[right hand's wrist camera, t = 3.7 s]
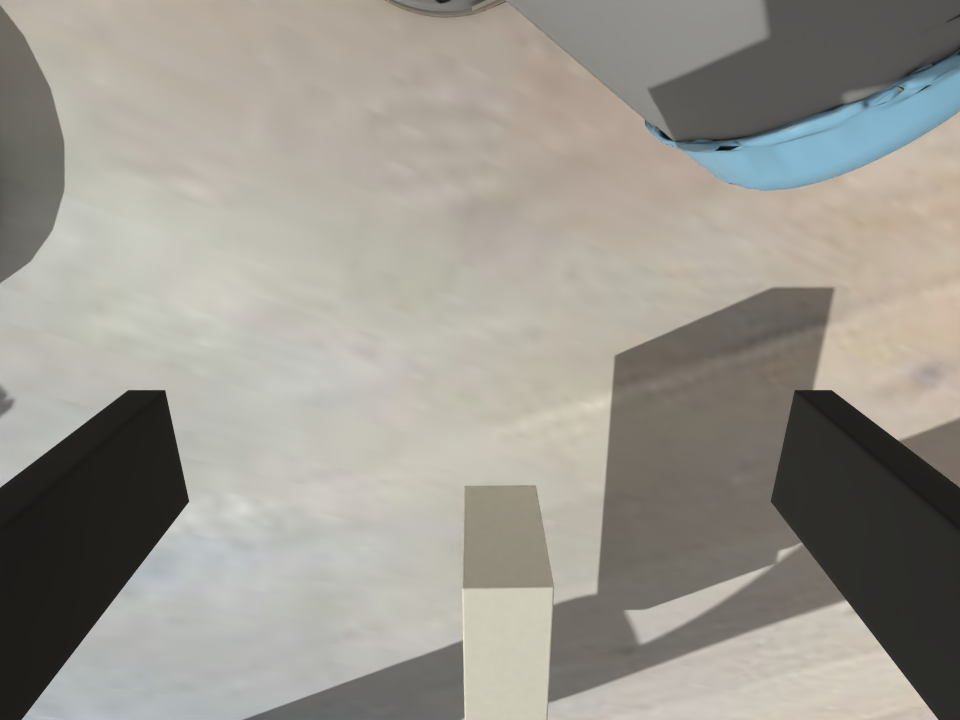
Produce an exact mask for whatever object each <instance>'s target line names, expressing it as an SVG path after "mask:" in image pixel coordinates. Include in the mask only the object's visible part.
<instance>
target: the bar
mask: <svg viewBox="0 0 960 720" xmlns="http://www.w3.org/2000/svg"><path fill="white" fill-rule="evenodd" d="M553 598H554V584H553V579H552V573H551V568H550V562H549V556H548V551H547V545H546V540H545V534H544V528H543V523H542V517H541V512H540V506H539V500H538V495H537V489H536V486H535V485H518V486H465V487H464V521H463V568H462V611H463V661H464V711H465V720H547V715H548V696H549V676H550V656H551V637H552V617H553Z"/></svg>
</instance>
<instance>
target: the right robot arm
mask: <svg viewBox="0 0 960 720" xmlns="http://www.w3.org/2000/svg"><path fill="white" fill-rule="evenodd" d="M386 1H388V2H389V3H391V4H393V5H395V6H397V7H400V8H402V9H405V10H407V11H410V12H414V13H417V14H421V15H426V16H432V17H461V16H466V15H472V14H476V13H479V12H482V11H485V10H488V9H490V8H493V7H495V6H497V5H499V4H501V3H503V2H505V1H507V2H508V3H509V4H511V5H512V6H513V7H514V8H515V9H516V10H518V11H519V12H520V13H521V14H522V15H523V16H525V17H526V18H527V19H528V20H529V21H530V22H532V23H533V24H534V25H535V26H536V27H537V28H539V29H540V30H541V31H542V32H543V33H544V34H546V35H547V36H548V37H549V38H550V39H551V40H553V41H554V42H555V43H556V44H557V45H558V46H560V47H561V48H562V49H563V50H564V51H565V52H567V53H568V54H569V55H570V56H571V57H573V58H574V59H575V60H576V61H577V62H578V63H580V64H581V65H582V66H583V67H584V68H585V69H587V70H588V71H589V72H590V73H591V74H592V75H594V76H595V77H596V78H597V79H598V80H599V81H601V82H602V83H603V84H604V85H605V86H606V87H608V88H609V89H610V90H611V91H612V92H613V93H615V94H616V95H617V96H618V97H619V98H620V99H622V100H623V101H624V102H625V103H626V104H627V105H629V106H630V107H631V108H632V109H633V110H635V111H636V112H637V113H638V114H639V115H640V116H642V117H643V118H644V119H645V125H646V127H647V128H648V130H649V131H650V132H651V133H652V134H653V135H654V136H655V137H656V138H657V139H658V140H660V141H661V142H663V143H665V144H667V145H671V146H673V147H675V148H676V149H680V150H682V151H683V152H685V153H686V154H687V155H689V156H690V157H691V158H693V159H694V160H695V161H696V162H698V163H699V164H700V165H702V166H703V167H704V168H705V169H707V170H708V171H709V172H711V173H712V174H713V175H714V176H716V177H717V178H719V179H720V180H722V181H725V182H727V183H729V184H734V185H738V186H742V187H745V188H748V189H756V190H764V191H766V190H782V189H790V188H797V187H801V186H806V185H810V184H814V183H818V182H821V181H824V180H828V179H831V178H834V177H837V176H839V175H842V174H845V173H847V172H850V171H852V170H855V169H857V168H860V167H862V166H864V165H867V164H869V163H871V162H873V161H875V160H878V159H880V158H882V157H884V156H886V155H888V154H890V153H892V152H894V151H896V150H898V149H900V148H902V147H903V146H905V145H907V144H909V143H910V142H912V141H914V140H915V139H917V138H919V137H921V136H922V135H924V134H926V133H927V132H929V131H931V130H932V129H934V128H935V127H937V126H939V125H940V124H942V123H943V122H945V121H946V120H948V119H949V118H951V117H952V116H954V115H955V114H956V113H958V112H959V111H960V0H386ZM188 502H189V499H188V494H187V490H186V485H185V480H184V476H183V471H182V466H181V462H180V457H179V452H178V448H177V443H176V439H175V434H174V429H173V425H172V420H171V415H170V411H169V406H168V401H167V397H166V392H165V390H128V391H127V392H125V393H124V394H123V395H122V396H120V397H119V398H118V399H116V400H115V401H114V402H112V403H111V404H110V405H108V406H107V407H106V408H104V409H103V410H102V411H101V412H99V413H98V414H97V415H95V416H94V417H93V418H91V419H90V420H89V421H87V422H86V423H85V424H83V425H82V426H81V427H79V428H78V429H77V430H76V431H74V432H73V433H72V434H70V435H69V436H68V437H66V438H65V439H64V440H62V441H61V442H60V443H58V444H57V445H56V446H54V447H53V448H52V449H51V450H49V451H48V452H47V453H45V454H44V455H43V456H41V457H40V458H39V459H37V460H36V461H35V462H33V463H32V464H31V465H30V466H28V467H27V468H26V469H24V470H23V471H22V472H20V473H19V474H18V475H16V476H15V477H14V478H12V479H11V480H10V481H8V482H7V483H6V484H5V485H3V486H2V487H1V488H0V720H22V718H23V717H24V716H25V714H26V713H27V712H28V711H29V709H30V708H31V707H32V705H33V704H34V703H35V701H36V700H37V699H38V698H39V696H40V695H41V694H42V692H43V691H44V690H45V688H46V687H47V686H48V685H49V683H50V682H51V681H52V679H53V678H54V677H55V675H56V674H57V673H58V672H59V670H60V669H61V668H62V666H63V665H64V664H65V662H66V661H67V660H68V659H69V657H70V656H71V655H72V653H73V652H74V651H75V649H76V648H77V647H78V645H79V644H80V643H81V642H82V640H83V639H84V638H85V636H86V635H87V634H88V632H89V631H90V630H91V629H92V627H93V626H94V625H95V623H96V622H97V621H98V619H99V618H100V617H101V616H102V614H103V613H104V612H105V610H106V609H107V608H108V606H109V605H110V604H111V603H112V601H113V600H114V599H115V597H116V596H117V595H118V593H119V592H120V591H121V590H122V588H123V587H124V586H125V584H126V583H127V582H128V580H129V579H130V578H131V576H132V575H133V574H134V573H135V571H136V570H137V569H138V567H139V566H140V565H141V563H142V562H143V561H144V560H145V558H146V557H147V556H148V554H149V553H150V552H151V550H152V549H153V548H154V547H155V545H156V544H157V543H158V541H159V540H160V539H161V537H162V536H163V535H164V534H165V532H166V531H167V530H168V528H169V527H170V526H171V524H172V523H173V522H174V521H175V519H176V518H177V517H178V515H179V514H180V513H181V511H182V510H183V509H184V508H185V506H186V505H187V504H188ZM771 502H772V504H773V505H774V506H775V508H776V509H777V510H778V511H779V513H780V514H781V515H782V517H783V518H784V519H785V521H786V522H787V523H788V524H789V526H790V527H791V528H792V530H793V531H794V532H795V534H796V535H797V536H798V537H799V539H800V540H801V541H802V543H803V544H804V545H805V547H806V548H807V549H808V550H809V552H810V553H811V554H812V556H813V557H814V558H815V560H816V561H817V562H818V563H819V565H820V566H821V567H822V569H823V570H824V571H825V573H826V574H827V575H828V576H829V578H830V579H831V580H832V582H833V583H834V584H835V586H836V587H837V588H838V590H839V591H840V592H841V593H842V595H843V596H844V597H845V599H846V600H847V601H848V603H849V604H850V605H851V606H852V608H853V609H854V610H855V612H856V613H857V614H858V616H859V617H860V618H861V619H862V621H863V622H864V623H865V625H866V626H867V627H868V629H869V630H870V631H871V632H872V634H873V635H874V636H875V638H876V639H877V640H878V642H879V643H880V644H881V645H882V647H883V648H884V649H885V651H886V652H887V653H888V655H889V656H890V657H891V659H892V660H893V661H894V662H895V664H896V665H897V666H898V668H899V669H900V670H901V672H902V673H903V674H904V675H905V677H906V678H907V679H908V681H909V682H910V683H911V685H912V686H913V687H914V688H915V690H916V691H917V692H918V694H919V695H920V696H921V698H922V699H923V700H924V701H925V703H926V704H927V705H928V707H929V708H930V709H931V711H932V712H933V713H934V714H935V716H936V717H937V718H938V720H960V488H959V487H958V486H957V485H955V484H954V483H953V482H952V481H950V480H949V479H948V478H946V477H945V476H944V475H942V474H941V473H940V472H938V471H937V470H936V469H934V468H933V467H932V466H930V465H929V464H928V463H927V462H925V461H924V460H923V459H921V458H920V457H919V456H917V455H916V454H915V453H913V452H912V451H911V450H909V449H908V448H907V447H906V446H904V445H903V444H902V443H900V442H899V441H898V440H896V439H895V438H894V437H892V436H891V435H890V434H888V433H887V432H886V431H884V430H883V429H882V428H881V427H879V426H878V425H877V424H875V423H874V422H873V421H871V420H870V419H869V418H867V417H866V416H865V415H863V414H862V413H861V412H859V411H858V410H857V409H856V408H854V407H853V406H852V405H850V404H849V403H848V402H846V401H845V400H844V399H842V398H841V397H840V396H838V395H837V394H836V393H835V392H833V391H832V390H795V392H794V397H793V401H792V406H791V411H790V415H789V420H788V425H787V429H786V434H785V439H784V443H783V448H782V452H781V457H780V462H779V466H778V471H777V476H776V480H775V485H774V490H773V494H772V499H771Z"/></svg>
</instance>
